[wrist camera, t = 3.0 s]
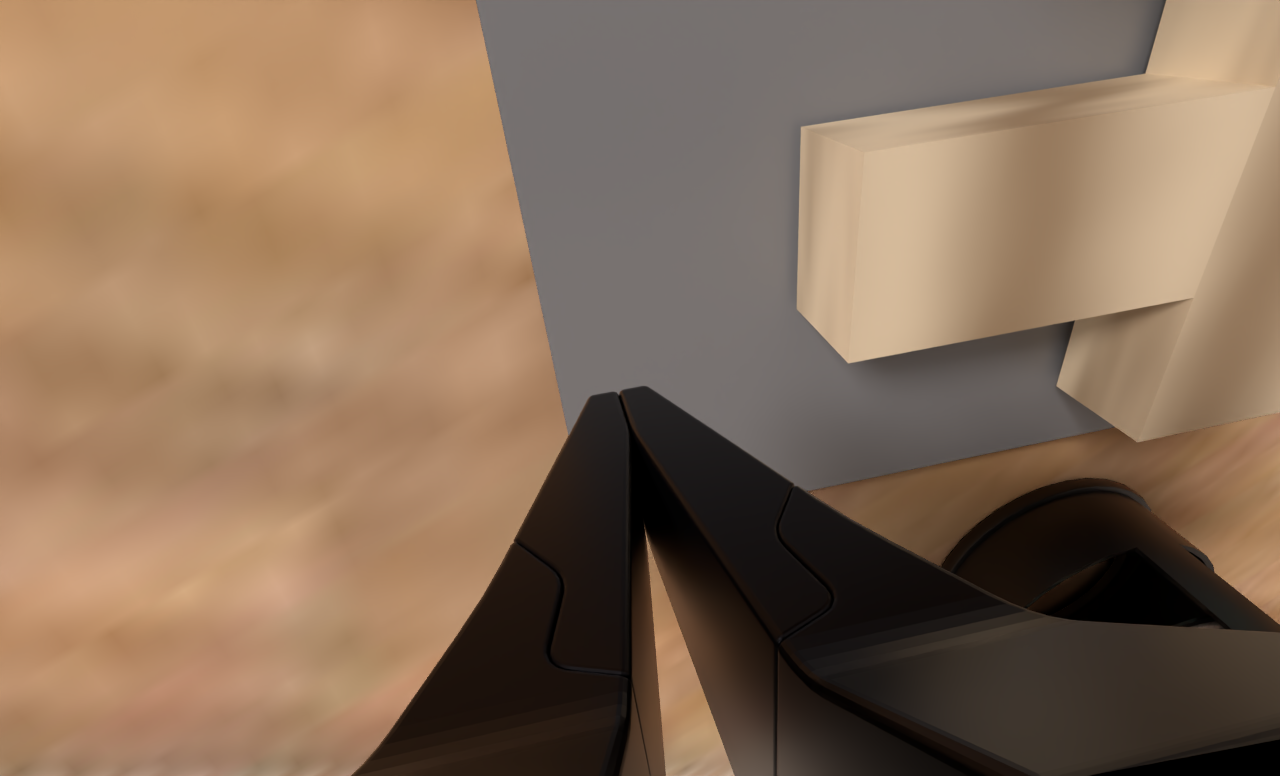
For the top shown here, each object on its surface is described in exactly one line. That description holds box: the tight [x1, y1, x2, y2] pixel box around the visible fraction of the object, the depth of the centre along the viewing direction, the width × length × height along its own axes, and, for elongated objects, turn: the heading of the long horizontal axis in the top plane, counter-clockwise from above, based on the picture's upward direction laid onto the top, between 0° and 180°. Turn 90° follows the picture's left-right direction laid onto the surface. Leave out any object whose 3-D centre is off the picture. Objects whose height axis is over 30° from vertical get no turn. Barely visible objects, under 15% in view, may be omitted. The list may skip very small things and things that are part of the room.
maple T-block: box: [797, 0, 1280, 442], centre depth 15 cm, size 13×13×3 cm
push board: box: [476, 0, 1166, 491], centre depth 17 cm, size 36×18×1 cm, turn 97°
